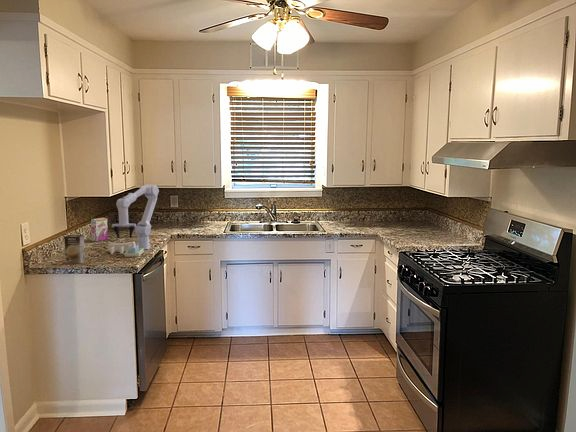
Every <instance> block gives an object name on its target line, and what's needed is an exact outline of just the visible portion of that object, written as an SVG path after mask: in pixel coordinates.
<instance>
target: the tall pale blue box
mask: <svg viewBox="0 0 576 432" xmlns="http://www.w3.org/2000/svg"><path fill="white" fill-rule="evenodd" d="M138 252H139V245H138V244H136V241H132V242H131V245H130V248H129V253H138Z"/></svg>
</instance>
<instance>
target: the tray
mask: <svg viewBox="0 0 576 432" xmlns="http://www.w3.org/2000/svg"><path fill="white" fill-rule="evenodd" d="M144 250H145V249H144V248H139V252H138V253H129V250H128V251H125V252H124V258H139V257H140V256H141V255H142V254H143V253H144V252H145V251H144Z"/></svg>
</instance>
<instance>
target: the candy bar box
mask: <svg viewBox="0 0 576 432" xmlns="http://www.w3.org/2000/svg"><path fill="white" fill-rule="evenodd" d="M108 224H109V223H108V218H107V217H100V218H99V217H98V218H91V219H90V228H91V233H90V234H91V242H101V241H106V240H109V231H108V230H109V229H108Z"/></svg>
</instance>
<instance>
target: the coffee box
mask: <svg viewBox="0 0 576 432" xmlns="http://www.w3.org/2000/svg"><path fill="white" fill-rule="evenodd" d="M64 252H65V264H83V263H85V261H86V260H85V259H86V256H85V254H86V252H85V236H84V234H68V235H66V236H64Z"/></svg>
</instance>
